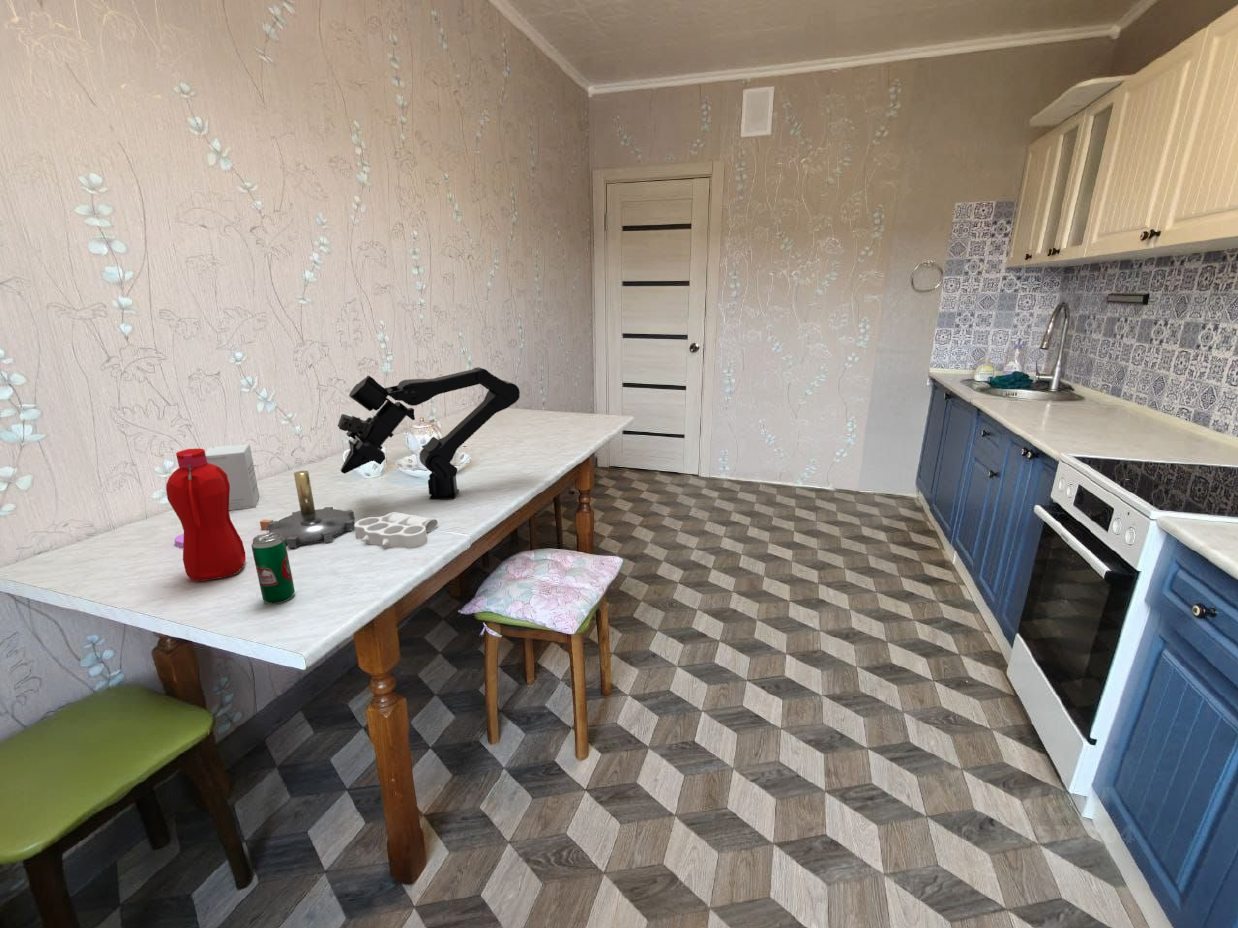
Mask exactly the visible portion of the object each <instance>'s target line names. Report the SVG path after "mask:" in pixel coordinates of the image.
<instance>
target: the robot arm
mask: <svg viewBox="0 0 1238 928" xmlns="http://www.w3.org/2000/svg"><path fill="white" fill-rule="evenodd" d="M477 385H481V386H482V387H483V388H485V389H486V390H488V391H487V393H486V395H485V397H484V398H483V401H481V403H480V404H479V405H478V406H477V407H475V409H473V410H472V411H471V412H470V413H469V414H468V415H467V416H466V417H464V418H463V419H462V420H461V421H460V422H459V423H458V424H457V425H456V426H455V427H454V428H452V429H451V431H450V432H448V433H447V434H446V435H445V436H444V437H442V438H439V439H438V438H437V437H435V436H433V437H431V438H430V439H429V441H428V442H427V443H426V444H424V445H422V446H421V447H422V449H421V450H420V451H419V462H420V463H421V465H423V467H425V468H426V469H427V470H428V471H429V472H431V473H430V474H429V475H428V477H429V478H428V480H427V484H428V485H427V486H428V493H429V495H430V496H429V500H453V499H455V498H456V496H457V495H458V494H459V492H460V488H459V489H458V485H457V473H458V468H457V467H456V466H455V465H454V464H453V463H452V461H453V459H454V456H455V454H456V452H457V450H458V449H459V448H461V446H462V445H463V444H464V443H465V442H467V440H468V439H470V438H471V437H472V436H473V435H474V434H475V433H476V432H477V431H478V430H479V429H480V428H481V427H483V425H485V424H486V423H487V422H488V421H489V420H490V419H491V418H492V417H493V416H495V414H496V413H497V414H498V413H499V412H501V411H504V410H506V409H508V408H509V407H511V406H513V405H515V404H516V403H517V402H518V400H519V399H520V398H521V397H520V396H521V395H520V394H521V391H520V388H519V387H518V386H517V385H516V384H515V383H512V382H510V381H506V380H502V379H500V378H499V377H497V376H495V375H494V374H492V373H490V372H489V370H487V369H485V368H484V367H483V368H482V367H481V366H480V367H474V368H472V369H469V370H464V371H459V372H456V373H451V374H448V375H443V376H437V377H435V378H434V377H433V378H413V379H403V380H401V381H400V382H399V383H398V384H396V385H393V386H388V387H383V386H382V385H381V384H380V383H378V382H377V381H376V379H374V377H372V376H370V375H367V376H366V377H365V378H364V379H362V380H361V381H360V382H358V383H356V384H355V386H354V387H353V388H352V389H351V390H350V392H349V395H348V397H350V398H351V399H352V400H354V401H355V402H357V403H358V404H359V405H361V406H362V407H363V408H364V409H366V410H367V411H369V412H372V411H373V410H374V411H377V412H376V413H375V414H374V416H373V417H372V416H370V417H367V418H366V420H363V419H361V417H356V416H354V415H352V416H351V415H347V414H344V413H342V414H341V415H340V417H339V420H338V424H337V427H338V429H339V430H341V431H344V432H346V433H345V434H346V436H347V437H348V438H352V441H351V440H348V444H349V452H348V453H347V456H346V458H345V460H344V462H343V465H342V466H341V468H340V472H341V473H342V474H347V473H350V472H351V471H353V470H356V469H357V468H359V467H362V466H364V465H365V464H366V465H367V464H368V463H371V462H373V461H374V462H375V463H376V464H378V465H382V463H383V462H384V461H385V460H386V453H385V452H384V451H383V450H382V449H383V446H382V445H383V444H384V443H385V442H386V441H387V440H388V439H389V438H392V437H393V436H394V433H393V432H394V431H395V430H396V429H397V428H398V426H399V425H400V424H401V423H402V422H403V420H405V418H406V417H408V418H409V419H410V420H412V421H414V420H416V417H415V416H416V415H415V409H414V408H413V407H414V406H418V405H421V404H422V403H425V402H428V401H429V400H431V399H433V398H434V397H436V396H438V395H441V394H445V393H449V392H453V391H456V390H457V391H458V390H461V389H466V388H470V387H473V386H477ZM388 397H390V398H391V399H393V400H395V403H394V402H393V401H391V400H390V399H389V398H388ZM401 402H403V403H405V404H407V405H408V406H412V407H407V406H405V405H404V404H403V403H401Z"/></svg>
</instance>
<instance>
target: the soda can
mask: <svg viewBox="0 0 1238 928" xmlns="http://www.w3.org/2000/svg"><path fill="white" fill-rule="evenodd" d="M268 532H269V531H268ZM268 532H264V533H261V534H259V535H256V536H255V537H253V539H252V544H251V551H252V554H253V559H254V563H255V564H254V565H255V570H256V574H257V579H258V583H259V588H260V592H261V593H260V594H261V598H262V600H263V601H264V602H266V603H268V604H278V603H279V604H280V603H283V602H285V601H287V600H290V598H291V597H292V596H294V594H295V592H296V589H295V586H294V579H293V574H292V568H291V565H290V560H289V554H288V549H287V548H288V547H287V545H286V543H285V539H284V538H283V537H282V536H281V533H278V532H269V533H268Z"/></svg>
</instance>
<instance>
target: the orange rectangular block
mask: <svg viewBox="0 0 1238 928" xmlns="http://www.w3.org/2000/svg"><path fill="white" fill-rule="evenodd" d="M271 521H274V520H273V519H262V520H260V521H259V524H260V528H261V530H264V531H269V529H268V524H269V523H270V522H271Z"/></svg>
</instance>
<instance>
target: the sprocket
mask: <svg viewBox="0 0 1238 928" xmlns="http://www.w3.org/2000/svg"><path fill="white" fill-rule="evenodd" d="M293 476H294V482H295V488H296V493H297V499H298V503H299V510H296V511H293V512H292V513H291V515H288V516H285V517H283V518H281V519H279V520H273V521H271V522H270V523H269V524H268V529H269V530H268V532H267V533H269V532H278V533H281V536H282V537H283V538H284V539H285V543H286V546H287V548H288V549H291V548H292V549H293V548H294V549H295V548H298V547H299V546H300V545H303V546H304V545H309V544H317V543H320V542H323V543H325V544H327V543H329V542H332V541H334V538H336V537H338V536H340V535H342V534H344V533H345V532H349V531H351V532H353V530H355V528H354V524H355V523H356V522H355V520H356V519H355V513H354V510H351V509H349V510H342V509H338V508H337V509H335V508H333V506H325V507H324V508H321V509H320V508H319V509H315V508H316V507H315V503H314V497H313V496H314V495H313V492H312V486H311V485H312V484H311V479H310V472H309V471H308V470H299V471H295V472H293Z"/></svg>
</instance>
